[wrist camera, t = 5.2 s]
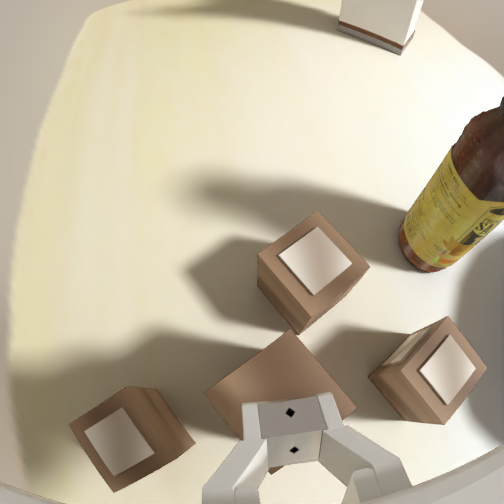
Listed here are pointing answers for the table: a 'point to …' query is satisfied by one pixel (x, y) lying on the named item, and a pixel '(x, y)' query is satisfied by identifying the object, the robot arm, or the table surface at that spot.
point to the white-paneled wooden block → (308, 271)
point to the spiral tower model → (381, 21)
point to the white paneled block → (430, 373)
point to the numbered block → (131, 436)
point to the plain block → (275, 382)
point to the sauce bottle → (459, 197)
